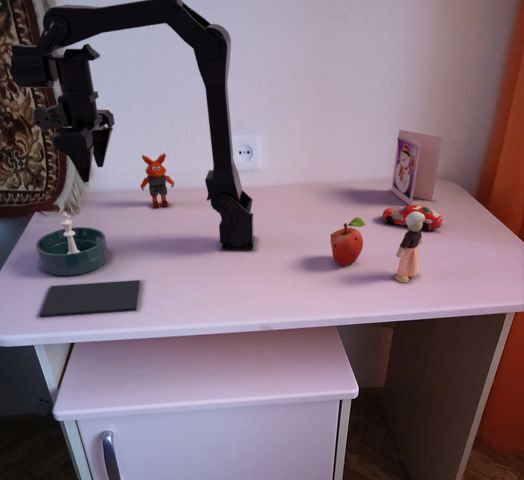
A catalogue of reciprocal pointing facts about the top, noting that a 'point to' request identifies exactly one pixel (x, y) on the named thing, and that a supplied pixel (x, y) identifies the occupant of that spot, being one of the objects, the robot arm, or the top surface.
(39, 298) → the top surface
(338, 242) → the apple
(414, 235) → the grandmother figurine
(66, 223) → the chess piece
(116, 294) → the mat
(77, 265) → the bowl
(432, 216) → the race car
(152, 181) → the toy animal
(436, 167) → the greeting card
